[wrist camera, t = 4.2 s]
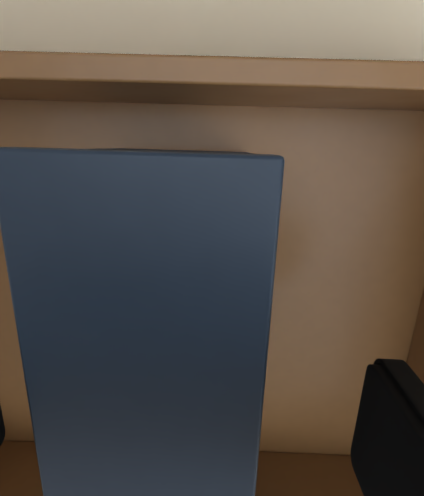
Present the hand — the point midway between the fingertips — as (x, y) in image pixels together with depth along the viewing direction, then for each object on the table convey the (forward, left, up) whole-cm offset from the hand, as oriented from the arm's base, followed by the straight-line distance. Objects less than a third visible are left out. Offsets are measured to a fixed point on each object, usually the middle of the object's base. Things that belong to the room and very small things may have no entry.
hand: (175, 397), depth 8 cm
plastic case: (0, 0, -6) cm, 6 cm away
